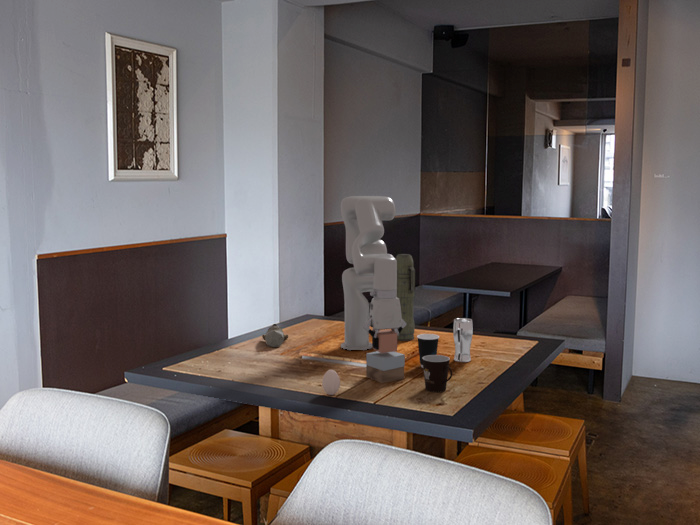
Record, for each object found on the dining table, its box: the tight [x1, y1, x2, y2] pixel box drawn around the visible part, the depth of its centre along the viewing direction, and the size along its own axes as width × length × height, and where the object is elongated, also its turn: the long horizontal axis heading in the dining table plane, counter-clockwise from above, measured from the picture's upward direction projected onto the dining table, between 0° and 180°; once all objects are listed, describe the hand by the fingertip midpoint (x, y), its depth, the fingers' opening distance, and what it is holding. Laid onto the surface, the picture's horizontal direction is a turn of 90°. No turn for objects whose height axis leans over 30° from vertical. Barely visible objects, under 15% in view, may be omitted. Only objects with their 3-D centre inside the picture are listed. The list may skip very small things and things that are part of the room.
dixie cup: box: [416, 333, 440, 369], centre depth 251 cm, size 8×8×11 cm
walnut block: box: [365, 365, 405, 384], centre depth 238 cm, size 9×9×4 cm
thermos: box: [395, 253, 416, 342], centre depth 294 cm, size 9×12×35 cm
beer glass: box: [452, 317, 474, 363], centre depth 260 cm, size 7×7×15 cm
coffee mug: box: [422, 354, 453, 393], centre depth 223 cm, size 12×9×10 cm
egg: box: [321, 369, 341, 396], centre depth 220 cm, size 6×6×8 cm
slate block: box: [365, 350, 406, 371], centre depth 238 cm, size 9×9×4 cm
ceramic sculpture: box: [261, 323, 289, 348], centre depth 286 cm, size 11×9×15 cm
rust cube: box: [372, 329, 398, 353], centre depth 237 cm, size 6×6×6 cm
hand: (384, 347), depth 237 cm, fingers closed on rust cube, 5 cm apart
